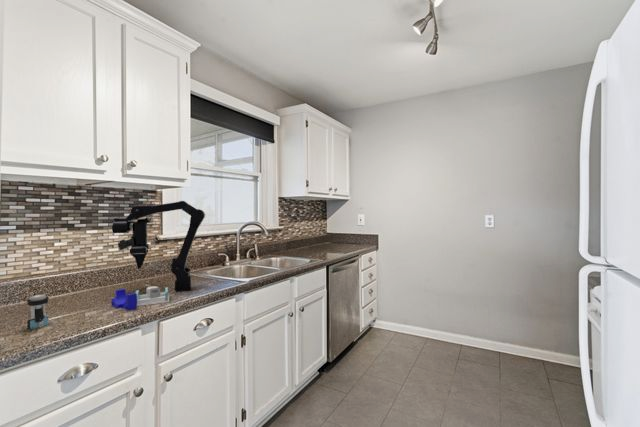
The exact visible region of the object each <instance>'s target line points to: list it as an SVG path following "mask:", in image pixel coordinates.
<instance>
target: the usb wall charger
mask: <svg viewBox="0 0 640 427" xmlns="http://www.w3.org/2000/svg"><path fill="white" fill-rule="evenodd" d="M145 292H146V293H145V294H146V296H147V297H149V298H157V297H160V293H161V288H160V287H159V286H155V285H154V286H148V287H146V291H145Z"/></svg>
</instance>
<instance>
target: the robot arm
mask: <svg viewBox="0 0 640 427" xmlns="http://www.w3.org/2000/svg"><path fill="white" fill-rule="evenodd" d="M177 210H181V211H183V212H185V213H186V214H188V215H189V216H190V220H189V227H188V230H187V233H186V235H185V238H184V239H183V240H184V241H183V243H182V246H181V248H180V251H179V254H178V255H177V256H174V257H173V258H172V262H171V265H169V267H170V271H171V273H172V274H173V275H174V276H175V279H174V290H175V291H176V293H177V292H185V291H187V292H188V291H192V288H191V285H192V283H191V281H192V280H191V279H192V278H191V275H190V274H191V271H192V270H191V269H189V267H187V265H188V264H187V263H188V257H189V256H188V255H189V254H190V250H191V248H192V246H193V243H194V240H195V238H196V234H197V232H198V229H199V227H200V226H201V224H202V223H203V221H204V220H205V218H206V213H205V211H204V210H203V209H199V208H198V209H197V208H196V207H194V206H193V205H191V204H189V203H188V202H186V201H185V200H180V201H174V202H169V203H168V202H167V203H160V204H156V205H155V204H154V205H134V206H133V207H132V208H131V209H130V213H129V214H128V215H127V217H126V218H120V217H115V218H114V219H113V222H112V225H111V229H112V233H113V234H129V233H130V232H132V235H131V236H130V239H124V238H123V239H121V240H119V242H118V243H117V247H118V248H119V251H122V250H124V249H126V248H129V247H131V248H130V249H129V254H130V255H131V256H132V257H134V259H135V260H134V261H135V263H136V267H137V269H139V270H140V269H141V268H142V266H143V264H144V262H145V260H146V257H147V255H148V252H149V250H150V244H149V243H148V224H150V223H152V222H153V221H152V220H151V219H150V218H149V217H150V216H152V215H156V214H159V213H165V212H172V211H177ZM143 218H144V219H143Z"/></svg>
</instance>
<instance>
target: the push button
mask: <svg viewBox="0 0 640 427" xmlns="http://www.w3.org/2000/svg"><path fill="white" fill-rule="evenodd" d="M49 299H50V297H48V296H46V294H35V295H31V296H30V298H29V299H27V300H26V303H27V306H30V318H29V319H27V323H26V324H27V328H28V329H29V330H30V329H31V330H34V329H37V328H42V327H44V326H47V325H49V323H50V322H53V321H54V320H52V319H53V317H50V318H49V316H47V314H46V304H48V302H49Z"/></svg>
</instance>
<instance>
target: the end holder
mask: <svg viewBox="0 0 640 427" xmlns="http://www.w3.org/2000/svg"><path fill="white" fill-rule="evenodd" d="M134 293H137V307H139V306H148V305H149V306H150V305H155V304H164V303H170V294H169V287H168V286H167V287H165V289H164V292H163V291H162V292H160V297H157V298H149V297H147V296H146V293H145V294H140V290H139V289H138V290H137V289H136V291H135V292H134Z"/></svg>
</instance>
